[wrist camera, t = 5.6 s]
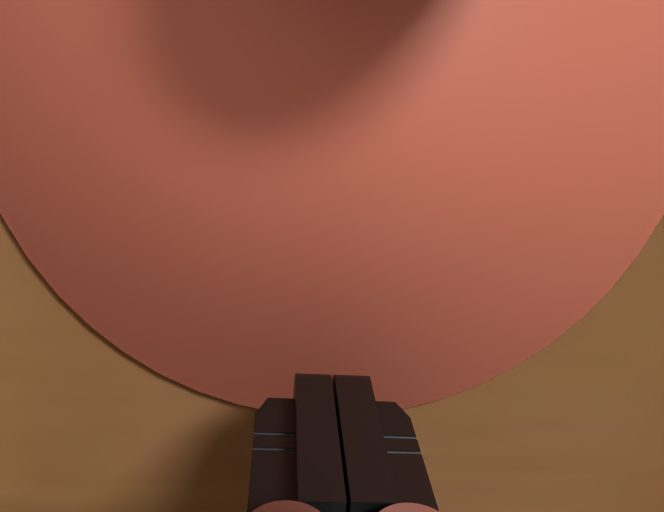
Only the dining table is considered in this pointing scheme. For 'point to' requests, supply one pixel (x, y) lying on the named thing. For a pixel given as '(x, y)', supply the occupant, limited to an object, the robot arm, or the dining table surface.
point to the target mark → (331, 179)
